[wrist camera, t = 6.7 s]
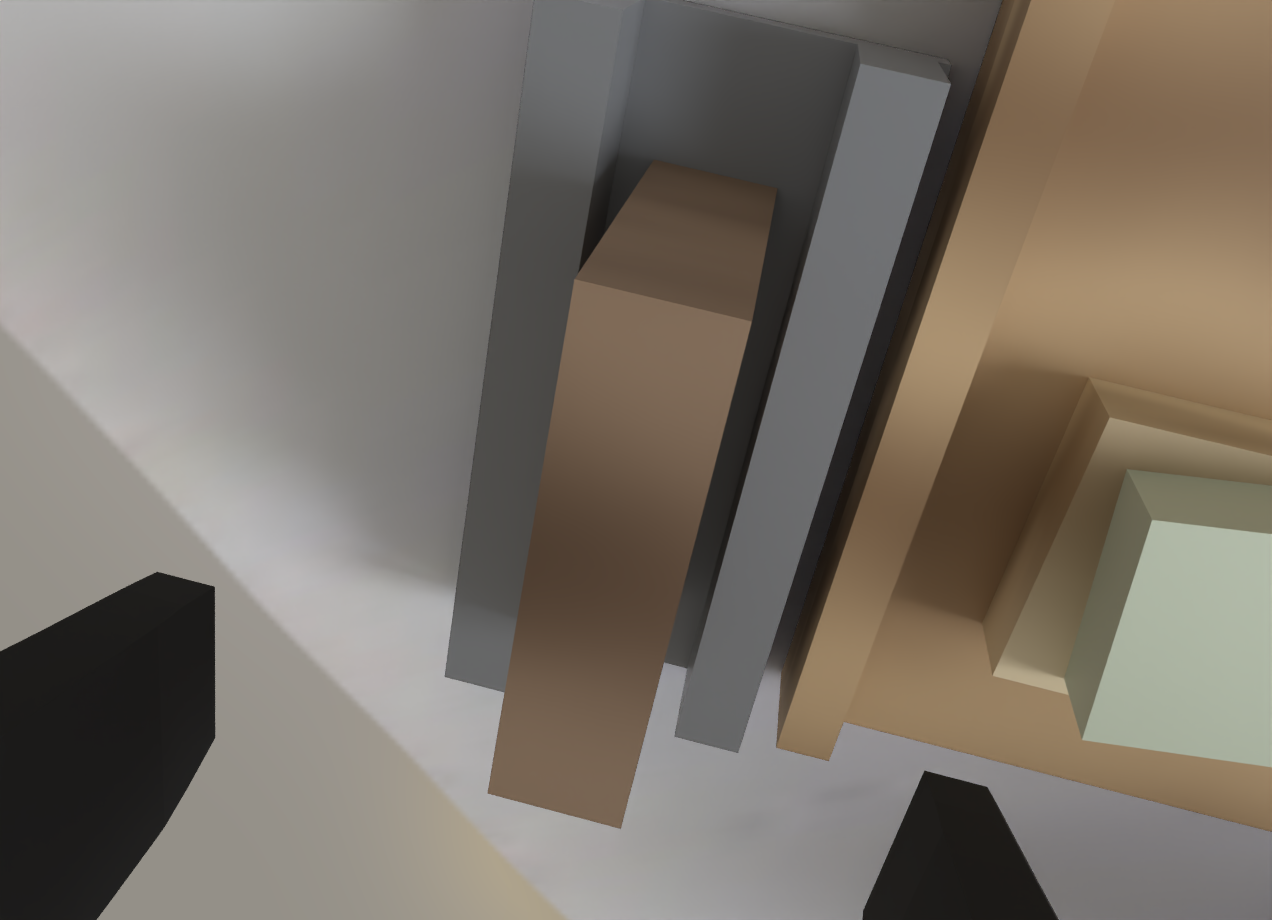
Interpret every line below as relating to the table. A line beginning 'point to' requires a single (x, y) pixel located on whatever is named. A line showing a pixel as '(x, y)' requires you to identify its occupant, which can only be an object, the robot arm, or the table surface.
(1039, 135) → the tray
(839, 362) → the holder
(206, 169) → the table surface
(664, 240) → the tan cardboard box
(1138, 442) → the offcut
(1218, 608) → the offcut
